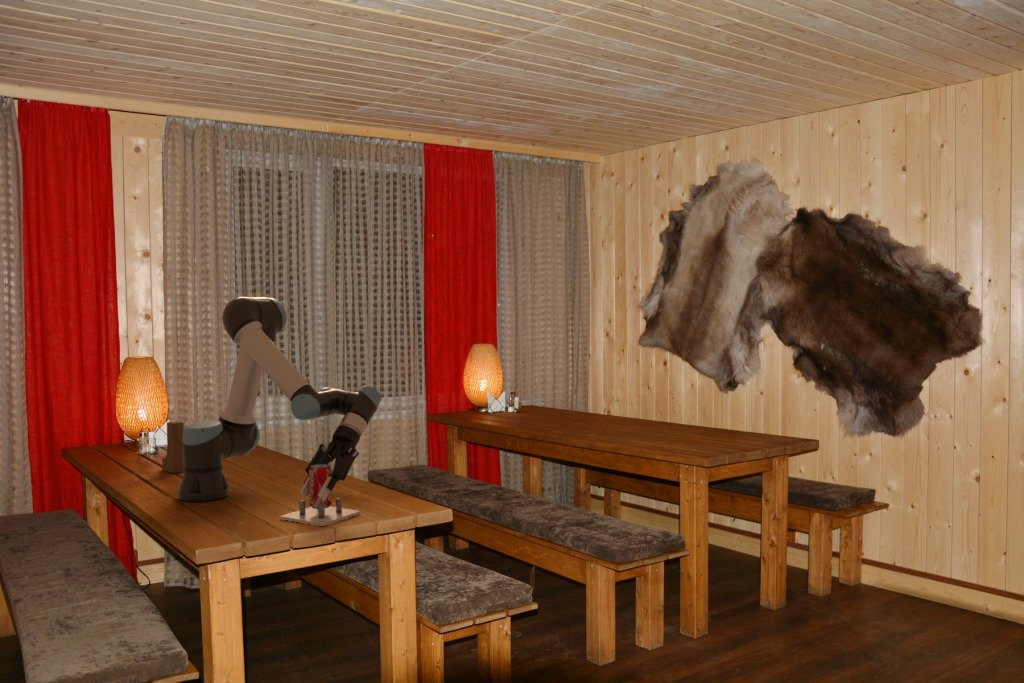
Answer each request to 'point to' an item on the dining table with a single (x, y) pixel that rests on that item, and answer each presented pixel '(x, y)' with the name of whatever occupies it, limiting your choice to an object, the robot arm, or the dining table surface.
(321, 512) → the standoff pins
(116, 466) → the dining table surface
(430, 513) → the dining table surface
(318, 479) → the soda can
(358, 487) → the dining table surface
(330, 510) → the base plate
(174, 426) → the wooden block
